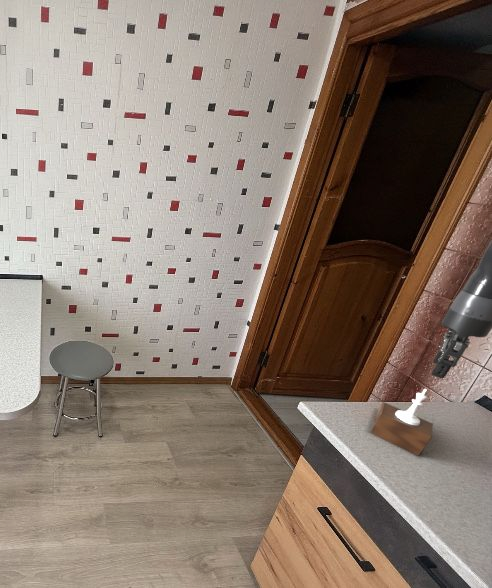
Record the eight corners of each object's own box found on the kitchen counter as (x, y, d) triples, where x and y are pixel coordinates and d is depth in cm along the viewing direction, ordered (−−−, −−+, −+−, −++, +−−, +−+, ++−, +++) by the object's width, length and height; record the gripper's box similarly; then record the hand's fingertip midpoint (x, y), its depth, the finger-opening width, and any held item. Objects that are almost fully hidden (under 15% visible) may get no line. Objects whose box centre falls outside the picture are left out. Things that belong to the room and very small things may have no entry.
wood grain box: (421, 430, 95) (434, 411, 92) (417, 456, 86) (431, 436, 83) (377, 410, 102) (388, 392, 99) (370, 432, 93) (381, 413, 90)
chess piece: (393, 416, 89) (411, 387, 85) (396, 409, 92) (414, 380, 88) (418, 428, 86) (438, 398, 82) (420, 420, 89) (439, 390, 85)
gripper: (500, 327, 69) (459, 389, 76) (495, 310, 78) (458, 367, 85) (450, 314, 74) (415, 373, 80) (450, 299, 83) (419, 353, 90)
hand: (437, 369), depth 83 cm, fingers open, 8 cm apart
